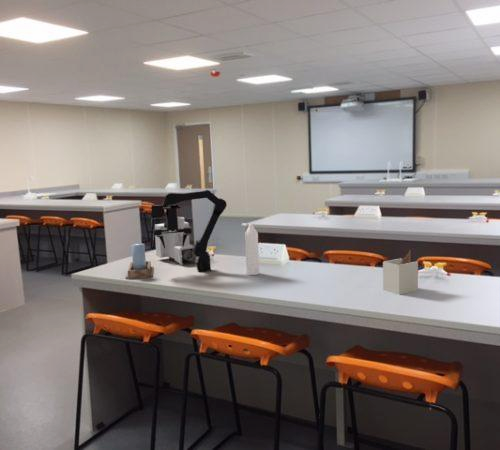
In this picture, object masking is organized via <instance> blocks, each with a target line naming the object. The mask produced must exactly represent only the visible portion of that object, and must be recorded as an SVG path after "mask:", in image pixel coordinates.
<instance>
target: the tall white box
mask: <svg viewBox="0 0 500 450" xmlns="http://www.w3.org/2000/svg"><path fill="white" fill-rule="evenodd" d="M407 258H408V260H407ZM382 286H383V287H382V290H383V291H385V292H387V293H392V294H395V295H398V294H400V295H403V294H408V293H411V292H412V291H413V292H416V290H417V291H418V289H419V287H418V286H419V261H418V260H417V261H411V249H409V251H408V253H407V254H406V255H405V257H404V258H401V257H400V258H395V259H391V260H390V259H389V260H384V261H383V262H382Z"/></svg>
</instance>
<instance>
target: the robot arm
mask: <svg viewBox="0 0 500 450" xmlns="http://www.w3.org/2000/svg"><path fill="white" fill-rule="evenodd" d="M200 199H208V201H210V202H211V203H212V204H213V205H212V206H213V207H212V211H211V215H210V217H209V219H208V221H207V223H206V226H205V228H204V231H203V233H202V235H201V237H200V239H199V240H198V239H196V240H195V243H194V245H193V247H194V253H195V255H196V256H197V257H198V261H197V263H196V269H197V271H198V272H199V273H201V272H212V268H211V255H210V254H209V252H208V250H207V248H208V244H209V243H208V242H209V240H210V238H211V235H212V233H213V231H214V229H215V227H216V225H217V222H218V219H219V218H220V216H221V215H222V213H224V211H225V210H226V208H227V201H226V200H224V199H223V198H221V197H220V198H219V197H217V196H216V195H215V194H214V193H212V191H210V190H208V189H205V190H201V191H192V192H191V191H190V192H168V193H167V194H166V195H165V197H164V201H163V202H162V204H151V205H150V207H151V211H150V214H151V215H150V216H151V219H163V218H164V217H166V219H165V220H166V221H163V223H164V228H167V230H162V228H161V229H155V228H154V230H153V235H154V237H155V236H157V237H159V238H160V240H161V242H162V244H163V246H164V249H165V243H164V238H163V234H164V233H180V232H183V241H182V247H184V243H185V240H186V237H187V235H189V236H190V234H192V227H191V226H189V227H183V229H178V217H179V216H178V214H179V213H178V209H181V208H182V207H181V205H179V204H178V203H182V202H184V201H193V200H200ZM168 206H169V207H168ZM169 230H171V231H169Z"/></svg>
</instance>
